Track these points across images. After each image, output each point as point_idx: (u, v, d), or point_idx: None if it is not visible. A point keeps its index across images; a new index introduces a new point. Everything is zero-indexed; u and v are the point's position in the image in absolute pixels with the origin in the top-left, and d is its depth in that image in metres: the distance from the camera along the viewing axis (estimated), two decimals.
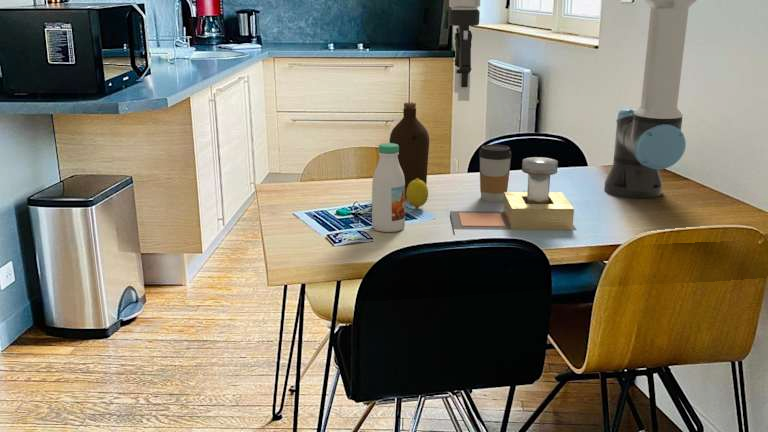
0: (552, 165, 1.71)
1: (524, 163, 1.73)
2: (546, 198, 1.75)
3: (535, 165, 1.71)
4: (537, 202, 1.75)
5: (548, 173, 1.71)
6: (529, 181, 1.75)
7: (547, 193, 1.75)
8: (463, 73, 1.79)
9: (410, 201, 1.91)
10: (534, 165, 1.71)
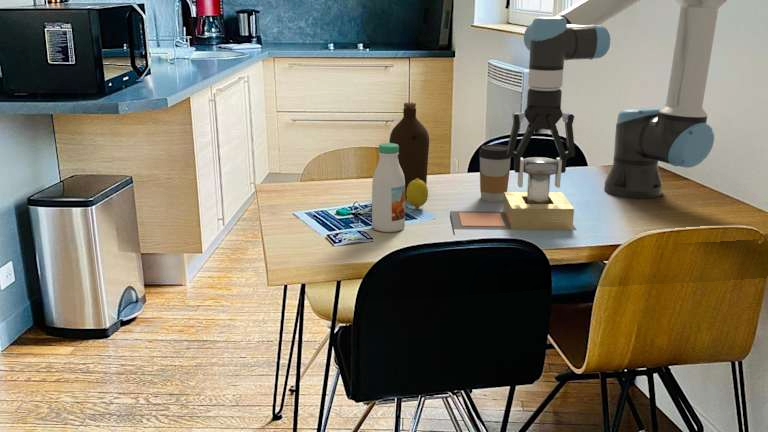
0: (552, 165, 1.71)
1: (524, 163, 1.73)
2: (546, 198, 1.75)
3: (535, 165, 1.71)
4: (537, 202, 1.75)
5: (548, 173, 1.71)
6: (529, 181, 1.75)
7: (547, 193, 1.75)
8: (513, 157, 1.75)
9: (410, 201, 1.91)
10: (534, 165, 1.71)
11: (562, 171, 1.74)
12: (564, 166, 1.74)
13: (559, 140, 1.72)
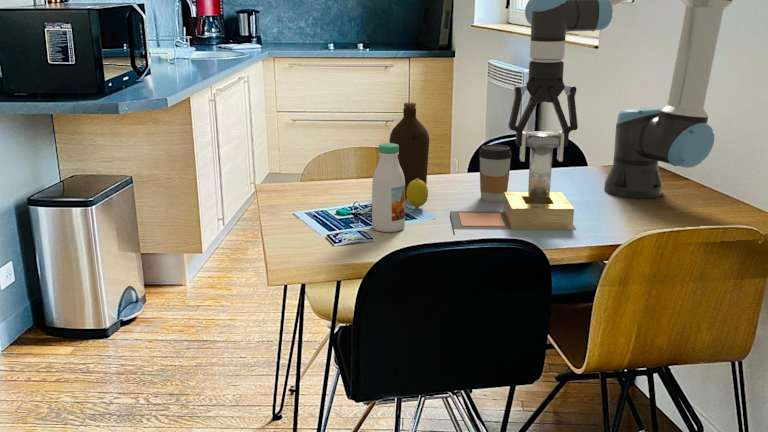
0: (554, 138, 1.69)
1: (526, 137, 1.72)
2: (548, 172, 1.73)
3: (537, 138, 1.69)
4: (539, 176, 1.73)
5: (550, 146, 1.70)
6: (532, 155, 1.73)
7: (549, 167, 1.73)
8: None
9: (410, 201, 1.91)
10: (536, 138, 1.69)
11: (564, 145, 1.73)
12: (566, 139, 1.72)
13: (561, 113, 1.70)
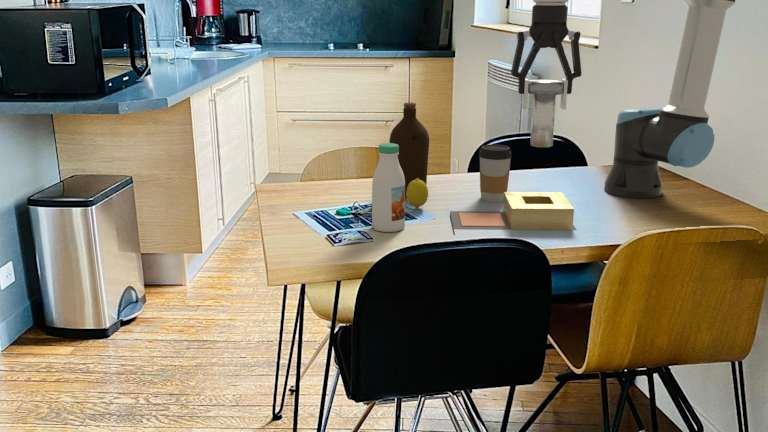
0: (558, 84, 1.66)
1: (529, 83, 1.68)
2: (551, 120, 1.70)
3: (540, 84, 1.66)
4: (542, 124, 1.69)
5: (554, 93, 1.66)
6: (534, 103, 1.69)
7: (552, 115, 1.70)
8: None
9: (410, 201, 1.91)
10: (539, 84, 1.66)
11: (568, 92, 1.69)
12: (570, 87, 1.69)
13: (565, 59, 1.66)
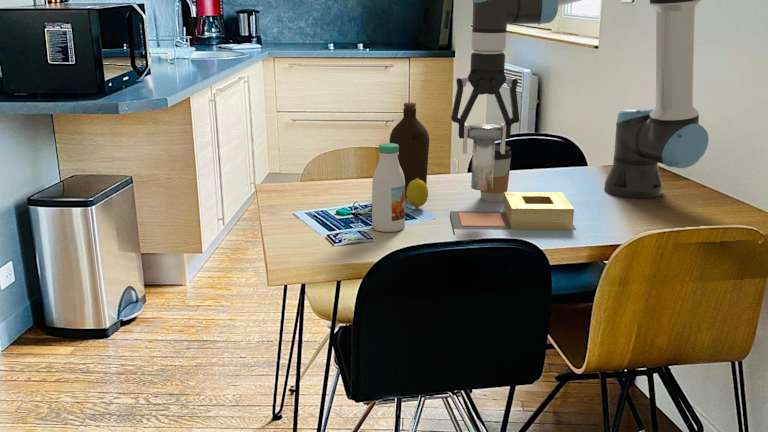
0: (496, 130, 1.69)
1: (468, 128, 1.71)
2: (491, 164, 1.73)
3: (478, 130, 1.69)
4: (481, 168, 1.73)
5: (492, 138, 1.69)
6: (474, 147, 1.73)
7: (492, 159, 1.73)
8: None
9: (410, 201, 1.91)
10: (477, 130, 1.69)
11: (507, 137, 1.72)
12: (509, 132, 1.72)
13: (503, 105, 1.70)
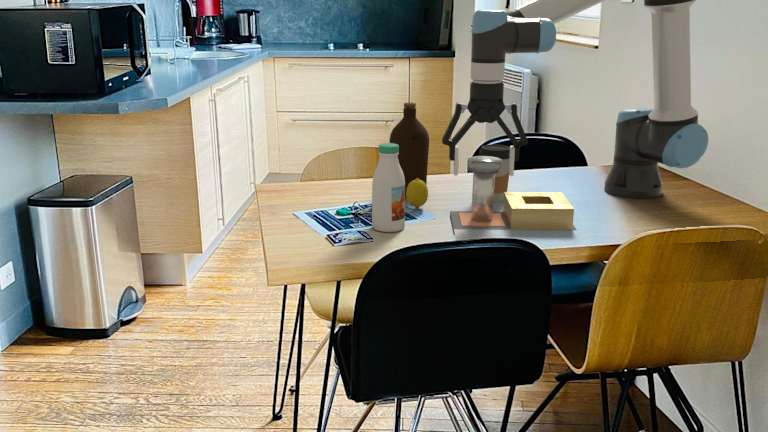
0: (496, 164, 1.71)
1: (469, 161, 1.74)
2: (490, 197, 1.75)
3: (479, 164, 1.71)
4: (481, 201, 1.75)
5: (492, 172, 1.72)
6: (474, 180, 1.75)
7: (492, 192, 1.75)
8: None
9: (410, 201, 1.91)
10: (478, 164, 1.71)
11: (515, 159, 1.74)
12: (517, 154, 1.73)
13: (507, 130, 1.71)
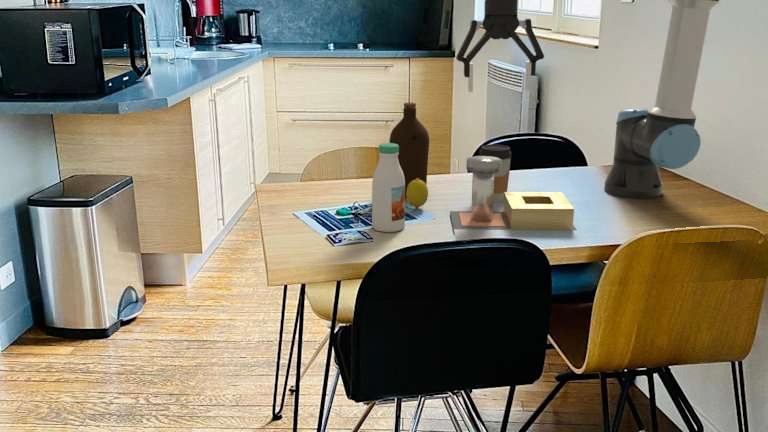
0: (495, 163, 1.72)
1: (468, 161, 1.74)
2: (490, 196, 1.75)
3: (478, 163, 1.71)
4: (481, 200, 1.75)
5: (491, 171, 1.72)
6: (473, 180, 1.75)
7: (491, 191, 1.75)
8: None
9: (410, 201, 1.91)
10: (477, 163, 1.72)
11: (532, 74, 1.77)
12: (534, 69, 1.77)
13: (523, 45, 1.75)
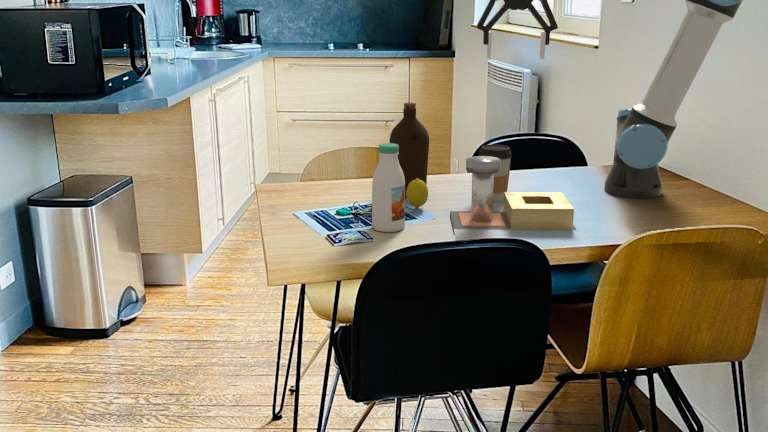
0: (494, 164, 1.71)
1: (467, 162, 1.74)
2: (490, 197, 1.75)
3: (477, 164, 1.71)
4: (481, 201, 1.75)
5: (491, 172, 1.72)
6: (473, 180, 1.75)
7: (491, 192, 1.75)
8: None
9: (410, 201, 1.91)
10: (476, 164, 1.71)
11: (546, 43, 1.92)
12: (548, 38, 1.92)
13: (539, 16, 1.90)
